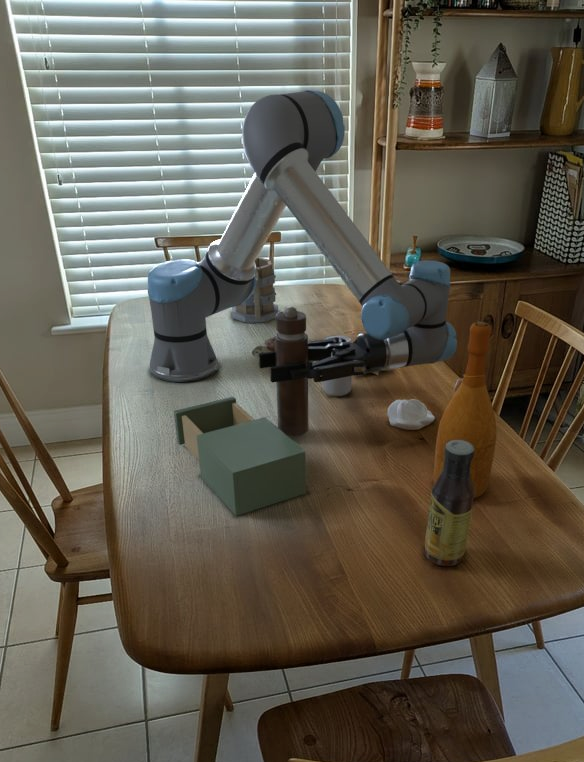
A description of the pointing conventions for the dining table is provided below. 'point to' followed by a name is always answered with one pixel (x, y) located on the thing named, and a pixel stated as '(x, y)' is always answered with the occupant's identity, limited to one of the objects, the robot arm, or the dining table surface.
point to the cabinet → (252, 465)
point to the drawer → (207, 420)
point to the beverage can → (341, 384)
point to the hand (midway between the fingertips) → (265, 367)
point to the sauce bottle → (451, 506)
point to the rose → (409, 414)
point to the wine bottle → (471, 413)
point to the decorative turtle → (265, 347)
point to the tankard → (259, 296)
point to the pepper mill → (293, 392)
